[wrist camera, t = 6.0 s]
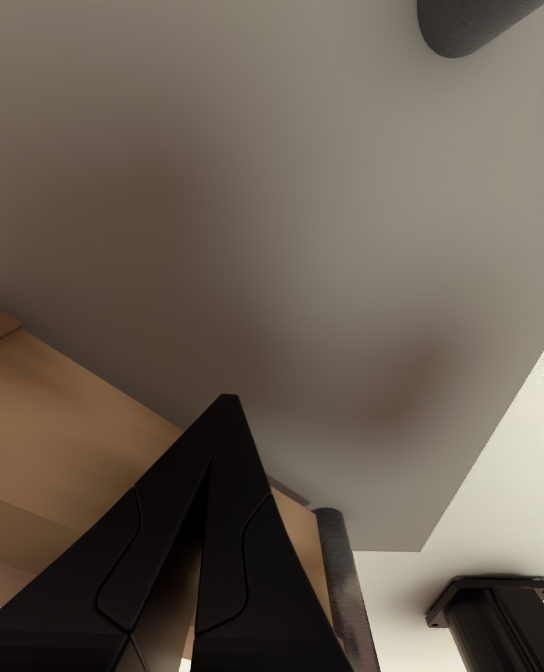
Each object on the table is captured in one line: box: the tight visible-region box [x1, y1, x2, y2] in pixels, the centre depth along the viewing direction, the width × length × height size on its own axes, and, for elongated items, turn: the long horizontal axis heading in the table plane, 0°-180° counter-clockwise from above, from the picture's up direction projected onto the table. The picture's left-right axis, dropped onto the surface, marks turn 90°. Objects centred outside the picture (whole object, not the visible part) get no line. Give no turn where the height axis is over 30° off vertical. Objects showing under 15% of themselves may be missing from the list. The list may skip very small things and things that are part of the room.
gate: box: [0, 309, 345, 660], centre depth 8 cm, size 15×2×5 cm, turn 44°
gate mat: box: [0, 0, 544, 552], centre depth 9 cm, size 24×22×1 cm
